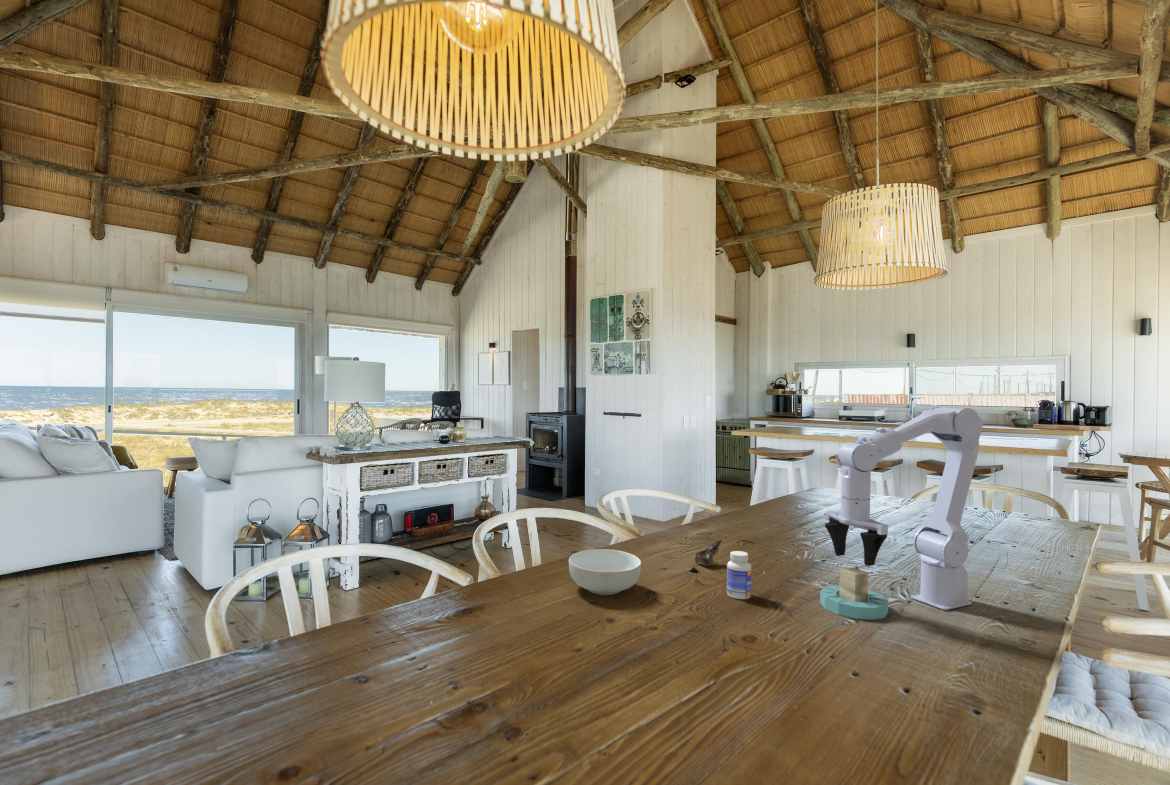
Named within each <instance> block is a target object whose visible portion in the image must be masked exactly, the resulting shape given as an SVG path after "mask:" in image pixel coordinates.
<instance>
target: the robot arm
mask: <svg viewBox="0 0 1170 785" xmlns="http://www.w3.org/2000/svg"><path fill="white" fill-rule="evenodd" d="M983 425H984V422H983V420H982V419H981V417H980V415H979V414H978V412H977V411H976V410H975V409H973V408H970V407H965V408H964V407H963V408H960V407H959V408H954V407H941V406H940V407H939V406H934V407H930V408H929V409H925V410H923V411H922V412H921V414H919V415H917V416H915V417H914V418H912V419H909V420H908V421H907V422H904V423H903V424H900V426H897V427H896V428H894V429H892V428H889V427H877V428H875V432H873V433H871V434H869V435H867V436H865V437H864V436H860V437H858V438H857V440H856V441H855V442H852V441H848V442H845V443H843V444H842V445H841V446H840V447H839V449H838V450H837V451H838V452H837V453H836V454H835V459H836V461H837V464H838V465H839V468H840V473H841V488H840V490H841V493H840V495H841V496H840V498H841V500H840V512H837V511H833V510H827V511H825V514H824V515H825V517H824V518H825V521H828V522H826V523H825V524H824V527H825V529H826V530H827V533H828V534H829V536H830V539H831V542H832V545H833V550H834V553H835V554H834V555H835V556H837V557H838V556H845V554H846V547H847V546H846V545H847V536H848V532H849V528H850V527H853V528H857V529H862V530H865V531H862V532H860V537H861V541H862V545H863V561H864V565H865V566H866V567H870V566H875V564H876V559H877V556H878V554H879V552H880V549H881V547H882V545H883V543H884V542H885V540H886V539H887V538H888V534H889V524H886V523H882V522H879V521H877V520H875V519H871V480H872V479H871V475H872V473H871V472H872V471H873V470H874V469H875V468H876V466H877V464H878V462H879V461H882V460H883V459H886V458H887V457H889V456H891V455H893V454H896V453H898V452H899V451H901V449H902V446H903V444H904V443H906V442H908V441H911V440H913V439H916V438H918V437H921V436H923V435H925V434H929V433H931V435H933V436H934V437H935V438H936V439H937V440H939V442H941V443H942V444H944V446H945V448H946V449H947V450H948V453H947V457H946V460H945V465H944V468H943V471H942V477H941V480H940V484H939V488H938V490H937V491H938V492H937V496H936V498H935V503H934V506H933V511H932V514H931V516H930V517H928V518H926V519H925V520H923V521H921V523H920V527H919V529H918V531H917V532H916V533H915V534H914V537H913V540H912V543H913V548H914V550H915V551H916V553H917V554H918V559H920V589H919V590H920V593H918V594H914V595H911V599H913V600H916V601H919V602H922V603H924V604H926V605H930V606H932V607H934V608H938V609H941V610H943V611H948V610H952V609H957V608H961V607H966V606H970V605H972V601H970V600H968V599H969V597H968V596H969V595H968V594H969V592H968V588H969V574H968V571H967V569H966V568H965V566H964V565H963V564H964V563H965V562H966V561H967V559H968V558H969V557H968V556H969V546H968V542H969V537H970V536H969V534H968V533H967V531H966V530H965V529H964V528H963V526H962V525H961V521H962V517H963V514H964V510H965V506H966V502H967V498H968V494H969V490H970V487H971V482H972V478H973V475H974V471H975V467H976V463H977V459H978V456H979V451H980V436H981V434H982V429H983ZM942 532H943V533H942ZM944 533H945V534H944Z"/></svg>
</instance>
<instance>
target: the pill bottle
mask: <svg viewBox="0 0 1170 785" xmlns="http://www.w3.org/2000/svg"><path fill="white" fill-rule="evenodd" d="M729 554H730V555H729V559H730V560H729V561H728V562H727V565H726V593H727V596H728V597H730V598H733V599H736V600H748V599H750V598H751V597H752V564H751V563H750V562H748V561H749V554H748V552H746V551H743V550H742V551H741V550H732V551H730V553H729Z"/></svg>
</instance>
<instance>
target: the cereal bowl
mask: <svg viewBox="0 0 1170 785" xmlns="http://www.w3.org/2000/svg"><path fill="white" fill-rule="evenodd" d="M641 569H642V561H641V559H640V558H639V556H636V555H634V554H632V553H629V552H626V551H623V550H618V549H617V550H616V549H609V548H607V549H604V548H601V549H599V548H598V549H586V550H580V551H578V552H576V553H573V554H572V555H570V556H569V558H568V571H569V574H570V575H569V576H570V577H571V579H572V581H573V582H575V584H577V585H578V586H579V587H581V588H583V589H585V590H587V591H589V592H591V593H592V594H595V595H601V596H611V595H616V594H619V593H620V592H623V591H625V590H628V589H630V588H632V587H633V586H634V585H635V584H636V583H637V582H638V580H639V579H640V578H639V577H640V576H641V575H640V574H641V571H642V570H641Z"/></svg>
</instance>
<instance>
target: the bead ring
mask: <svg viewBox="0 0 1170 785" xmlns="http://www.w3.org/2000/svg"><path fill="white" fill-rule="evenodd" d="M839 586H840V584H837V585H836V584H835V585H830V586H829V585H828V586H824V587H823V588H822V589H821V590H820V592H819V593H820V594H819V595H820V596H819V598H820V599H819V602H820V605H821V606H822V607H823V608H824V609H825V610H827V611H829V612H831V613H834V614H836V615H838V616H842V617H847V618H850V619H855V620H867V621H868V620H871V621H875V620H879V619H884V618H887V615H888V614H889V600H888V599H887V598H886V597H885V596H884V595H883V594H881V593H878V592H876V591H873V590H870V589H868V602H854V601H850V600H845V599H843V598H841V597H839Z"/></svg>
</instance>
